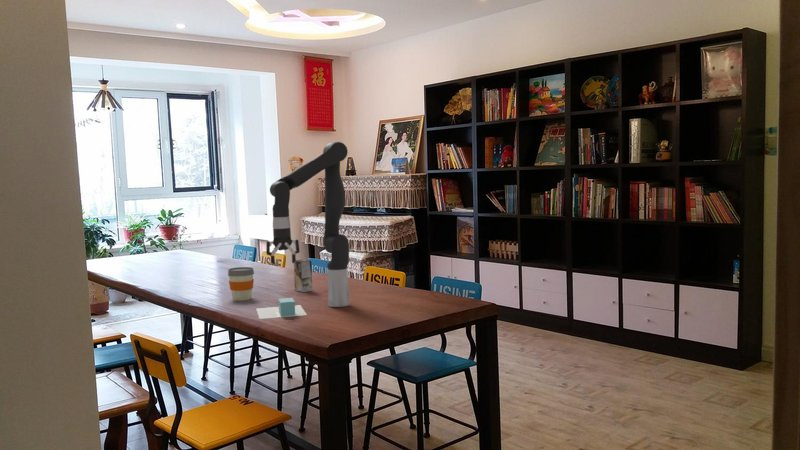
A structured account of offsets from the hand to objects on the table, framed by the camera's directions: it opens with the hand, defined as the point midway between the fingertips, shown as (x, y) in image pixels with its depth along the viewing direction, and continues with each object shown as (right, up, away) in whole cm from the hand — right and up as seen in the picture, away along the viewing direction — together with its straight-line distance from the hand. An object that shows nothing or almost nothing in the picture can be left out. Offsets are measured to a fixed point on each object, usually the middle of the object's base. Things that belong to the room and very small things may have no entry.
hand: (283, 263), depth 270 cm
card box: (+2, -21, -5) cm, 22 cm away
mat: (-1, -22, 0) cm, 22 cm away
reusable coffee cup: (-27, -20, +35) cm, 49 cm away
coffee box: (0, -18, +54) cm, 57 cm away
